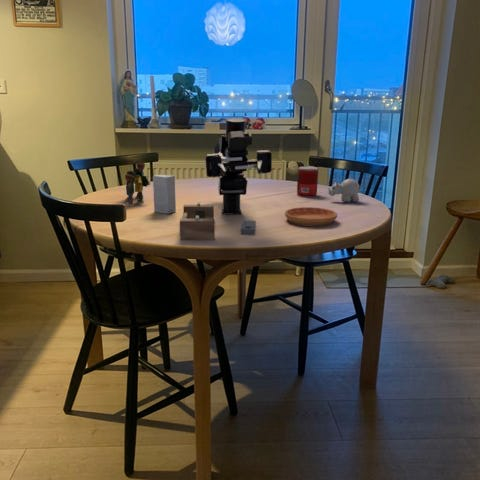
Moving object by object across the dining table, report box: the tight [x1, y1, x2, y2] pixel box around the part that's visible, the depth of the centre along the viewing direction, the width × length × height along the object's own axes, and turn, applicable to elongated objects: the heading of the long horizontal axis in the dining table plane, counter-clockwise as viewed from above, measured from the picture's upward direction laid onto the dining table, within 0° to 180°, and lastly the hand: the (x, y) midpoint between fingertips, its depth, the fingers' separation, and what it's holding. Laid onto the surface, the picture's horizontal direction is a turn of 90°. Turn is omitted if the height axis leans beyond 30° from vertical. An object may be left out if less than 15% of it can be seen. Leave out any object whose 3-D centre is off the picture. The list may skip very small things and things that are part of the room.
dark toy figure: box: [124, 162, 151, 207], centre depth 166 cm, size 23×9×13 cm, turn 18°
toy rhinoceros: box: [327, 178, 361, 203], centre depth 171 cm, size 7×12×8 cm, turn 95°
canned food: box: [296, 166, 319, 197], centre depth 182 cm, size 8×8×11 cm
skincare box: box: [152, 174, 177, 215], centre depth 149 cm, size 6×4×12 cm
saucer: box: [284, 206, 338, 227], centre depth 141 cm, size 16×16×3 cm
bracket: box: [240, 219, 257, 235], centre depth 130 cm, size 4×10×2 cm, turn 177°
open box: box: [179, 201, 216, 241], centre depth 128 cm, size 21×9×6 cm, turn 4°
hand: (242, 172), depth 122 cm, fingers open, 9 cm apart
